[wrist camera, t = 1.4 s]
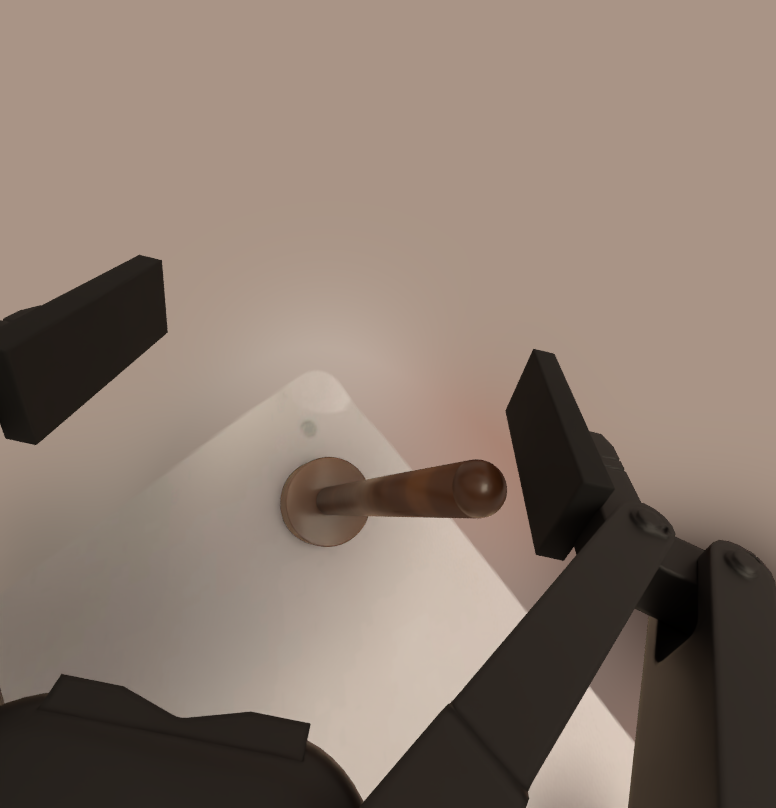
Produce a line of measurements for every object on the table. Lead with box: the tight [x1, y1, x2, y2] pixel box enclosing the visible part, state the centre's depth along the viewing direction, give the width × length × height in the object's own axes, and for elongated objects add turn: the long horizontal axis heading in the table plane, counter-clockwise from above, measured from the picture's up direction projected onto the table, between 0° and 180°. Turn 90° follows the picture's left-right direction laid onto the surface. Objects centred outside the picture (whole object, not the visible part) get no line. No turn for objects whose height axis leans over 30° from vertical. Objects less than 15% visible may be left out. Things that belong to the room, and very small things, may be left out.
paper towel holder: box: [280, 457, 507, 547], centre depth 22 cm, size 6×6×19 cm
